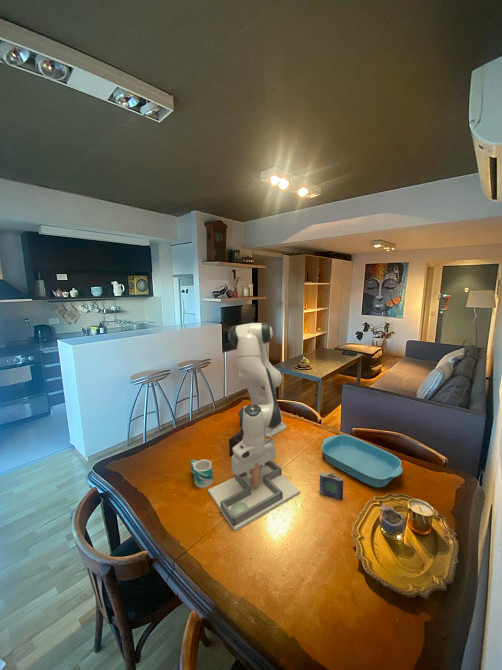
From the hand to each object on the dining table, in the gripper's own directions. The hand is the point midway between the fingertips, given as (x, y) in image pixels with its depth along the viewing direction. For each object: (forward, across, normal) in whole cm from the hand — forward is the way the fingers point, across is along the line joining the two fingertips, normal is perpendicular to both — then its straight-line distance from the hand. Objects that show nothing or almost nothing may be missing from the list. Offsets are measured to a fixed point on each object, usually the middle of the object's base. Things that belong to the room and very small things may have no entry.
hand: (255, 474), depth 114 cm
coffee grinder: (+7, -11, -26) cm, 29 cm away
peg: (+4, 0, 0) cm, 4 cm away
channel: (+7, +2, +1) cm, 7 cm away
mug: (+7, +17, -19) cm, 27 cm away
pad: (+6, +12, +7) cm, 15 cm away
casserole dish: (+7, -48, +15) cm, 51 cm away
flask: (+7, -23, +20) cm, 32 cm away
